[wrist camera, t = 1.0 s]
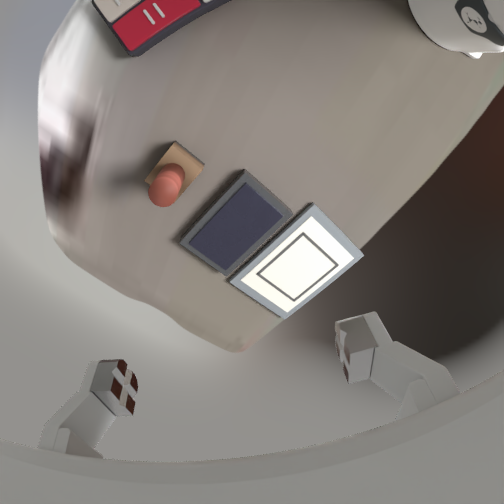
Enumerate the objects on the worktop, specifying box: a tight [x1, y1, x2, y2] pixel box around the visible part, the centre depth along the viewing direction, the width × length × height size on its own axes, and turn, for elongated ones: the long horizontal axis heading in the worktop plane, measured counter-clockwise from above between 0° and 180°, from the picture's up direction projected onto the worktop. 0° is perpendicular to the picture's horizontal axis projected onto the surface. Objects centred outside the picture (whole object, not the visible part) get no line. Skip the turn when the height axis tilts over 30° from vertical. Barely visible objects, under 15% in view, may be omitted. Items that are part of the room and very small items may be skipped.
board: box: [230, 203, 364, 319], centre depth 49 cm, size 18×13×1 cm
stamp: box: [144, 141, 204, 207], centre depth 36 cm, size 6×5×9 cm
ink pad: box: [180, 169, 293, 276], centre depth 44 cm, size 14×9×2 cm, turn 137°
